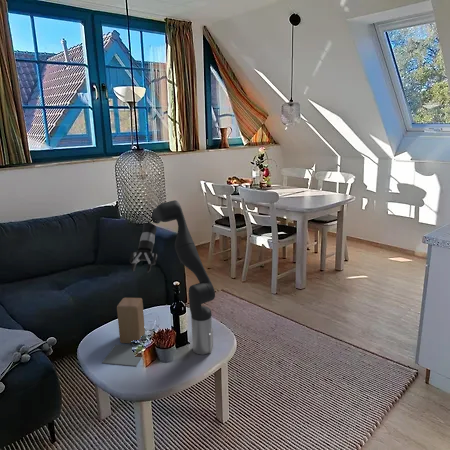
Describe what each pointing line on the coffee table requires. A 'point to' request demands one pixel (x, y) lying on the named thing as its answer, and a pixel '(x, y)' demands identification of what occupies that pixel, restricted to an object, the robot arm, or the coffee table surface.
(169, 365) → the coffee table surface
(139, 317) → the wooden block
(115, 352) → the slate mat
